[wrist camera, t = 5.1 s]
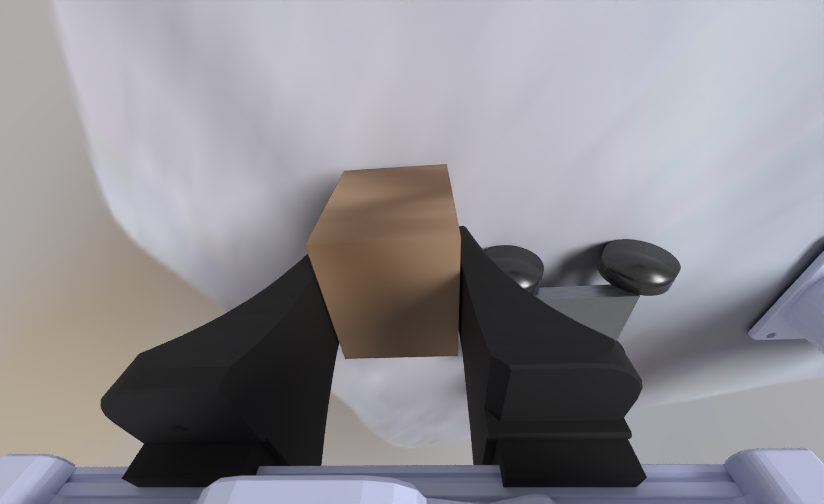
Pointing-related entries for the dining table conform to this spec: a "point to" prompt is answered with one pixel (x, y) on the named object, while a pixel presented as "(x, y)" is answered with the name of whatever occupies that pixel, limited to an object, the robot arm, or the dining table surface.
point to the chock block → (390, 262)
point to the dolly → (597, 304)
